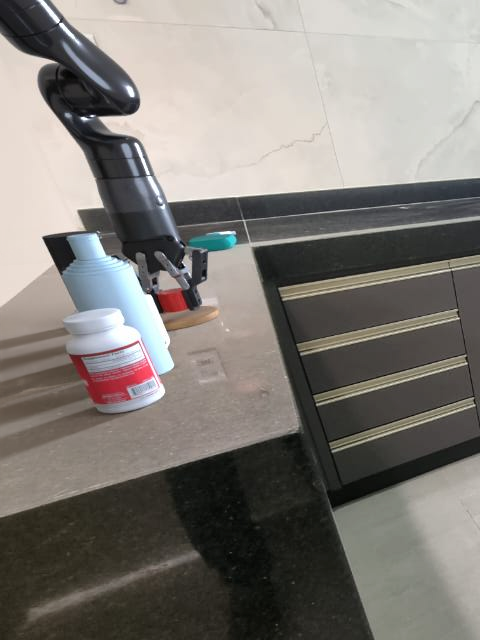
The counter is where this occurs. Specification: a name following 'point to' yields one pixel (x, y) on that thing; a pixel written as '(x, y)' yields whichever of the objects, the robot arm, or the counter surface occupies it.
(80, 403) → the counter surface
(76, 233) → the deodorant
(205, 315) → the coaster
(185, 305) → the cap
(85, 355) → the pill bottle
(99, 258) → the bottle
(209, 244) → the teal soap bar
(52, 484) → the counter surface
